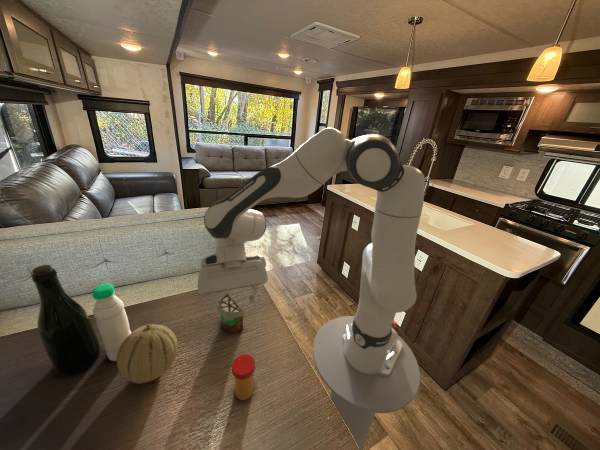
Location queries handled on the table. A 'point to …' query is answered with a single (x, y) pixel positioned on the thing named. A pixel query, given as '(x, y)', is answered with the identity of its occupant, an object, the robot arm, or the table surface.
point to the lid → (243, 366)
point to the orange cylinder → (244, 388)
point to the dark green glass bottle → (63, 325)
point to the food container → (231, 314)
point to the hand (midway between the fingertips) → (236, 304)
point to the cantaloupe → (147, 353)
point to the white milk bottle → (110, 319)
